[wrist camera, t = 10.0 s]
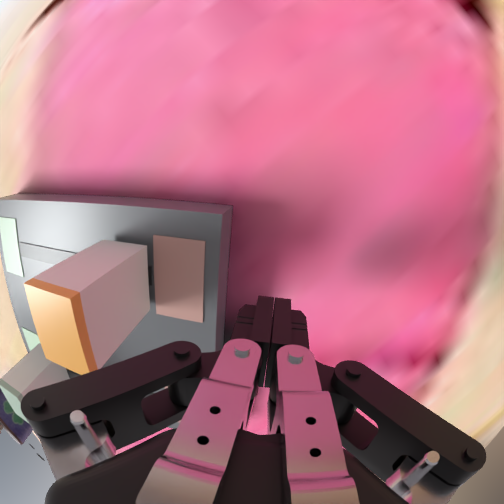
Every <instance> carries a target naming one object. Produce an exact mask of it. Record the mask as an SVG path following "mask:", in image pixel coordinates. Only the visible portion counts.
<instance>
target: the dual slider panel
mask: <svg viewBox="0 0 504 504" xmlns="http://www.w3.org/2000/svg"><path fill="white" fill-rule="evenodd" d="M232 212H233V206H232V205H222V204H212V203H202V202H190V201H178V200H166V199H152V198H137V197H120V196H100V195H74V194H14V195H10V196H6V197H2V198H0V253H1V259H2V264H3V269H4V274H5V279H6V283H7V287H8V292H9V295H10V299H11V303H12V307H13V310H14V313H15V317H16V320H17V323H18V326H19V329H20V332H21V335H22V338H23V341H24V343H25V346H26V349H27V351H28V353H29V352H30V351H31V350H32V349H33V348H34V347H36V346H37V345H38V344H39V343H40V340H39V337H38V334H37V331H36V328H35V325H34V321H33V318H32V315H31V311H30V307H29V303H28V300H27V295H26V291H25V287H24V283H25V282H26V281H28V280H30V279H31V278H33V277H35V276H37V275H38V274H40V273H42V272H44V271H45V270H47V269H49V268H51V267H53V266H54V265H56V264H58V263H60V262H62V261H63V260H65V259H67V258H69V257H71V256H73V255H75V254H77V253H78V252H80V251H82V250H84V249H86V248H88V247H90V246H92V245H94V244H96V243H98V242H100V241H102V240H111V241H118V242H125V243H133V244H140V245H147V260H148V282H149V298H150V310H149V312H148V313H147V314H146V315H145V316H144V317H143V318H142V320H141V321H140V322H139V323H138V324H137V326H136V327H135V328H134V329H133V330H132V331H131V333H130V334H129V335H128V336H127V337H126V339H125V340H124V341H123V342H122V343H121V345H120V346H119V347H118V348H117V349H116V351H115V352H114V353H113V354H112V355H111V357H110V358H109V359H108V360H107V362H106V363H105V364H104V365H103V366H102V368H104V367H107V366H109V365H112V364H115V363H118V362H121V361H124V360H126V359H129V358H132V357H135V356H137V355H140V354H143V353H145V352H148V351H151V350H153V349H156V348H159V347H161V346H164V345H166V344H169V343H171V342H175V341H189V342H192V343H194V344H196V345H197V346H198V347H199V348H200V350H201V353H204V352H216V351H219V350H222V349H223V345H224V327H225V310H226V294H227V279H228V265H229V251H230V238H231V225H232ZM40 344H41V343H40ZM66 370H67V373H68V375H69V378H70V379H71V378H74V377H77V376H80V374H78V373H76V372H73V371H71V370H69V369H67V368H66ZM166 388H168V386H166V387H164V388H162V389H160V390H157V391H155V392H153V393H151V394H148V395H146V396H145V397H148V396H150V395H152V394H155V393H157V392H159V391H161V390H164V389H166ZM145 397H144V398H145ZM180 422H181V420H180V421H178V422H176V423H174V424H172V425H170V426H168V427H169V428H173V429H175V428H178V426H179V424H180Z"/></svg>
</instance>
